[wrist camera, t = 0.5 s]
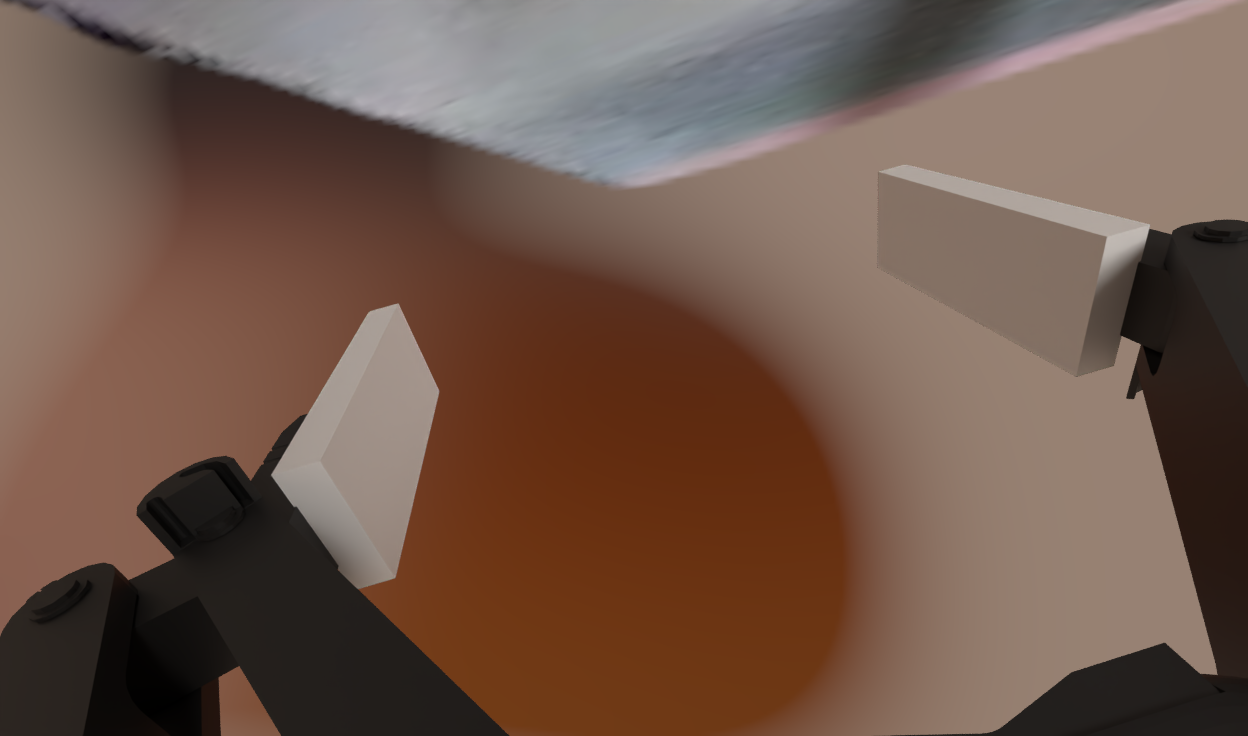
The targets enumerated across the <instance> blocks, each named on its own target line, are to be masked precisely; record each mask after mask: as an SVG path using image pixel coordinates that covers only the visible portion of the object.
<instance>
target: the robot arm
mask: <svg viewBox="0 0 1248 736" xmlns="http://www.w3.org/2000/svg"><path fill="white" fill-rule="evenodd" d="M1149 227H1150V224H1146V223H1142V222H1137V221H1134V220H1130V219H1126V218H1121V217H1117V216H1113V215H1109V214H1105V213H1101V212H1097V211H1093V210H1089V209H1085V208H1081V207H1077V206H1072V205H1068V204H1064V203H1060V202H1056V201H1052V200H1048V199H1044V198H1040V197H1036V196H1032V195H1028V194H1024V193H1020V192H1016V191H1012V190H1008V189H1003V188H999V187H995V186H991V185H987V184H983V183H979V182H975V181H971V180H967V179H963V178H959V177H955V176H951V175H947V174H943V173H938V172H934V171H930V170H926V169H922V168H918V167H914V166H910V165H906V164H904V165H901V166H897V167H893V168H890V169H886V170H883V171H879V172H878V253H877V255H878V256H877V267H878V268H879V269H881V270H883V271H884V272H886V273H888V274H890V275H892V276H894V277H895V278H897V279H899V280H901V281H903V282H904V283H906V284H908V285H910V286H912V287H914V288H915V289H917V290H919V291H921V292H923V293H925V294H927V295H928V296H930V297H932V298H934V299H935V300H937V301H939V302H941V303H943V304H945V305H946V306H948V307H950V308H952V309H954V310H955V311H957V312H959V313H961V314H963V315H965V316H966V317H968V318H970V319H972V320H974V321H975V322H977V323H979V324H981V325H983V326H985V327H987V328H988V329H990V330H992V331H994V332H995V333H997V334H999V335H1001V336H1003V337H1005V338H1007V339H1008V340H1010V341H1012V342H1014V343H1015V344H1017V345H1019V346H1021V347H1023V348H1025V349H1026V350H1028V351H1030V352H1032V353H1034V354H1036V355H1037V356H1039V357H1041V358H1043V359H1045V360H1046V361H1048V362H1050V363H1052V364H1054V365H1056V366H1057V367H1059V368H1061V369H1063V370H1065V371H1066V372H1068V373H1070V374H1072V375H1074V376H1076V377H1078V376H1081V375H1084V374H1088V373H1091V372H1094V371H1098V370H1101V369H1104V368H1108V367H1111V366H1114V363H1115V359H1116V355H1117V352H1118V348H1119V344H1120V340H1121V336H1123V337H1126V338H1128V339H1130V340H1132V341H1135V342H1137V343H1139V344H1141V346H1140V350H1139V354H1138V357H1137V361H1136V364H1135V368H1134V371H1133V375H1132V379H1131V382H1130V386H1129V390H1128V393H1127V397H1126V398H1127V399H1134V398H1135V395H1136V393H1137V392H1139V391H1141V390H1143V394H1144V397H1145V401H1146V405H1147V409H1148V412H1149V416H1150V420H1151V423H1152V427H1153V431H1154V435H1155V439H1156V442H1157V446H1158V450H1159V453H1160V457H1161V461H1162V465H1163V469H1164V472H1165V476H1166V480H1167V483H1168V487H1169V491H1170V495H1171V499H1172V502H1173V506H1174V510H1175V514H1176V517H1177V521H1178V525H1179V528H1180V532H1181V536H1182V540H1183V543H1184V547H1185V551H1186V555H1187V558H1188V562H1189V566H1190V570H1191V573H1192V577H1193V581H1194V585H1195V588H1196V592H1197V596H1198V600H1199V603H1200V607H1201V611H1202V614H1203V618H1204V622H1205V626H1206V630H1207V633H1208V637H1209V641H1210V644H1211V648H1212V652H1213V656H1214V659H1215V663H1216V668H1217V674H1218V675H1210V674H1200V673H1198V672H1197V671H1196V670H1195V669H1194V668H1193V667H1192V666H1190V665H1189V664H1188V663H1187V662H1186V661H1185V660H1184V659H1183V658H1181V657H1180V656H1179V655H1178V654H1177V653H1176V652H1175V651H1173V650H1172V649H1171V648H1170V647H1169V646H1168V645H1167V644H1166V643H1162V644H1159V645H1156V646H1153V647H1150V648H1147V649H1143V650H1140V651H1137V652H1134V653H1131V654H1128V655H1125V656H1121V657H1118V658H1115V659H1112V660H1109V661H1106V662H1103V663H1100V664H1096V665H1093V666H1090V667H1087V668H1084V669H1081V670H1077V671H1074V672H1072V673H1070V674H1069V675H1067V676H1066V677H1065V678H1064V679H1062V680H1061V681H1060V682H1059V683H1057V684H1056V685H1055V686H1054V687H1052V688H1051V689H1050V690H1048V692H1046V693H1045V694H1043V695H1042V696H1041V697H1040V698H1038V699H1037V700H1036V701H1034V702H1033V703H1032V704H1031V705H1029V706H1028V707H1027V708H1026V709H1024V710H1023V711H1022V712H1021V713H1019V714H1018V715H1017V716H1015V717H1014V718H1013V719H1012V720H1010V721H1009V722H1008V723H1007V724H1005V725H1004V726H1003V727H1001V728H1000V729H998V730H996V731H993V732H990V733H983V734H947V735H946V734H945V735H944V734H943V735H894V736H1248V222H1245V221H1240V220H1215V221H1211V222H1200V223H1193V224H1189V225H1185V226H1181V227H1179V228H1177V229H1175V230H1173V232H1172V234H1167V233H1163V232H1160V231H1156V230H1152V229H1149ZM438 394H439V390H438V388H437V385H436V383H435V381H434V379H433V377H432V375H431V373H430V371H429V368H428V366H427V364H426V362H425V360H424V358H423V355H422V353H421V351H420V349H419V347H418V345H417V343H416V340H415V338H414V336H413V334H412V332H411V330H410V328H409V325H408V324H407V321H406V319H405V317H404V315H403V313H402V311H401V308H400V306H399V304H395V305H392V306H388V307H384V308H380V309H377V310H373V311H370V312H369V313H368V315H367V316H366V318H365V320H364V321H363V323H362V324H361V326H360V328H359V330H358V331H357V333H356V335H355V336H354V338H353V339H352V341H351V343H350V344H349V346H348V348H347V349H346V351H345V353H344V355H343V356H342V358H341V359H340V361H339V363H338V365H337V366H336V368H335V370H334V371H333V373H332V374H331V376H330V378H329V380H328V381H327V383H326V385H325V386H324V388H323V389H322V391H321V393H320V394H319V396H318V398H317V400H316V401H315V403H314V404H313V406H312V408H311V409H310V411H309V413H308V414H306V415H302V416H300V417H299V418H298V419H297V420H295V421H294V422H293V423H292V424H291V425H290V426H289V427H288V428H286V429H285V430H284V431H283V432H282V433H281V435H280V436H279V438H278V440H277V441H276V443H275V444H274V446H273V447H272V451H270V452H269V453H268V455H267V457H266V458H265V460H264V461H263V462H264V464H263V465H261V466H260V468H259V469H258V471H257V472H256V474H255V475H254V477H253V478H252V480H251V481H250V480H249V478H248V477H247V475H246V474H245V473H244V471H243V470H242V469H241V468H240V466H239V465H238V463H237V462H236V461H235V459H234V458H230V457H227V456H221V457H213V458H210V459H207V460H204V461H201V462H198V463H195V464H193V465H191V466H189V467H187V468H185V469H183V470H181V471H179V472H177V473H175V474H174V475H172V476H171V477H169V478H167V479H166V480H164V481H163V482H161V483H160V484H158V485H157V486H156V487H155V488H154V489H153V490H151V491H150V492H149V493H148V494H147V495H146V496H145V497H144V498H143V500H142V501H141V503H140V504H139V505H138V507H137V516H138V517H139V518H140V520H141V521H142V522H143V523H144V524H145V525H146V526H147V527H148V528H149V529H150V531H151V532H152V533H153V534H154V535H155V536H156V537H157V538H158V539H159V540H160V541H161V542H162V544H163V545H164V546H165V547H166V548H167V549H168V550H169V551H170V552H171V553H172V554H173V556H174V559H172V560H170V561H168V562H166V563H164V564H162V565H160V566H158V567H156V568H153V569H151V570H150V571H147V572H145V573H143V574H141V575H139V576H137V577H135V578H133V579H130V580H127V578H126V577H125V576H124V575H123V574H122V573H120V572H119V571H118V570H117V569H116V568H115V567H114V566H113V565H111V564H107V563H99V564H95V565H90V566H87V567H84V568H82V569H79V570H77V571H75V572H72V573H70V574H68V575H66V576H65V577H63V578H61V579H59V580H58V581H57V580H56V581H53V582H51V583H49V584H48V585H46V586H45V587H43V588H42V589H41V590H42V591H41V592H36V593H35V594H34V595H33V596H31V597H30V598H29V599H28V600H27V601H26V603H25V605H23V606H22V607H21V608H20V609H19V610H18V611H17V612H16V613H15V614H14V615H13V616H12V617H11V619H10V620H9V622H8V623H7V625H6V626H5V628H4V629H3V631H2V633H1V636H0V736H221V730H220V729H221V728H220V704H219V680H218V677H220V676H222V675H223V674H225V673H227V672H229V671H231V670H232V669H234V668H236V667H238V666H240V668H241V669H242V671H243V673H244V674H245V676H246V678H247V679H248V681H249V683H250V684H251V686H252V688H253V689H254V691H255V693H256V694H257V696H258V698H259V699H260V701H261V703H262V704H263V706H264V708H265V709H266V711H267V713H268V714H269V716H270V717H271V719H272V721H273V723H274V724H275V726H276V728H277V729H278V731H279V733H280V734H281V736H509V735H508V734H507V733H506V732H505V731H504V730H502V728H501V727H500V726H499V725H498V724H497V723H495V721H493V720H492V719H491V718H490V717H489V716H488V715H487V714H486V713H485V712H484V711H483V710H482V709H481V708H480V707H479V706H478V705H477V704H476V703H475V702H474V701H473V700H472V699H471V698H470V697H468V695H467V694H466V693H465V692H464V691H462V690H461V689H460V688H459V687H458V686H457V685H456V684H455V683H454V682H453V681H452V680H451V679H450V678H449V677H448V676H447V675H445V673H444V672H443V671H442V670H441V669H440V668H439V667H438V666H437V665H436V664H434V663H433V662H432V661H431V660H430V659H429V658H428V657H427V656H426V655H425V654H424V653H423V652H422V651H421V650H420V649H419V648H418V647H417V646H416V645H415V644H414V643H413V642H412V641H411V640H410V639H409V638H408V637H406V635H405V634H404V633H403V632H401V631H400V630H399V629H398V628H397V627H396V626H395V625H394V624H393V623H392V622H391V621H390V620H389V619H388V618H387V617H386V616H385V615H384V614H383V613H382V612H381V611H380V610H379V609H378V608H376V606H375V605H374V604H373V603H371V602H370V601H369V600H368V599H367V598H366V597H365V596H364V595H363V594H362V593H361V592H360V591H359V590H358V589H360V588H363V587H367V586H370V585H374V584H377V583H380V582H384V581H387V580H391V579H394V578H395V577H396V573H397V569H398V565H399V560H400V556H401V551H402V548H403V543H404V539H405V535H406V531H407V526H408V522H409V518H410V513H411V509H412V505H413V501H414V497H415V492H416V488H417V484H418V479H419V475H420V471H421V467H422V463H423V458H424V454H425V450H426V445H427V441H428V437H429V433H430V428H431V424H432V420H433V415H434V411H435V407H436V403H437V398H438ZM337 569H338V570H339V571H340V572H341V573H340V572H339V571H338V570H337Z"/></svg>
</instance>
